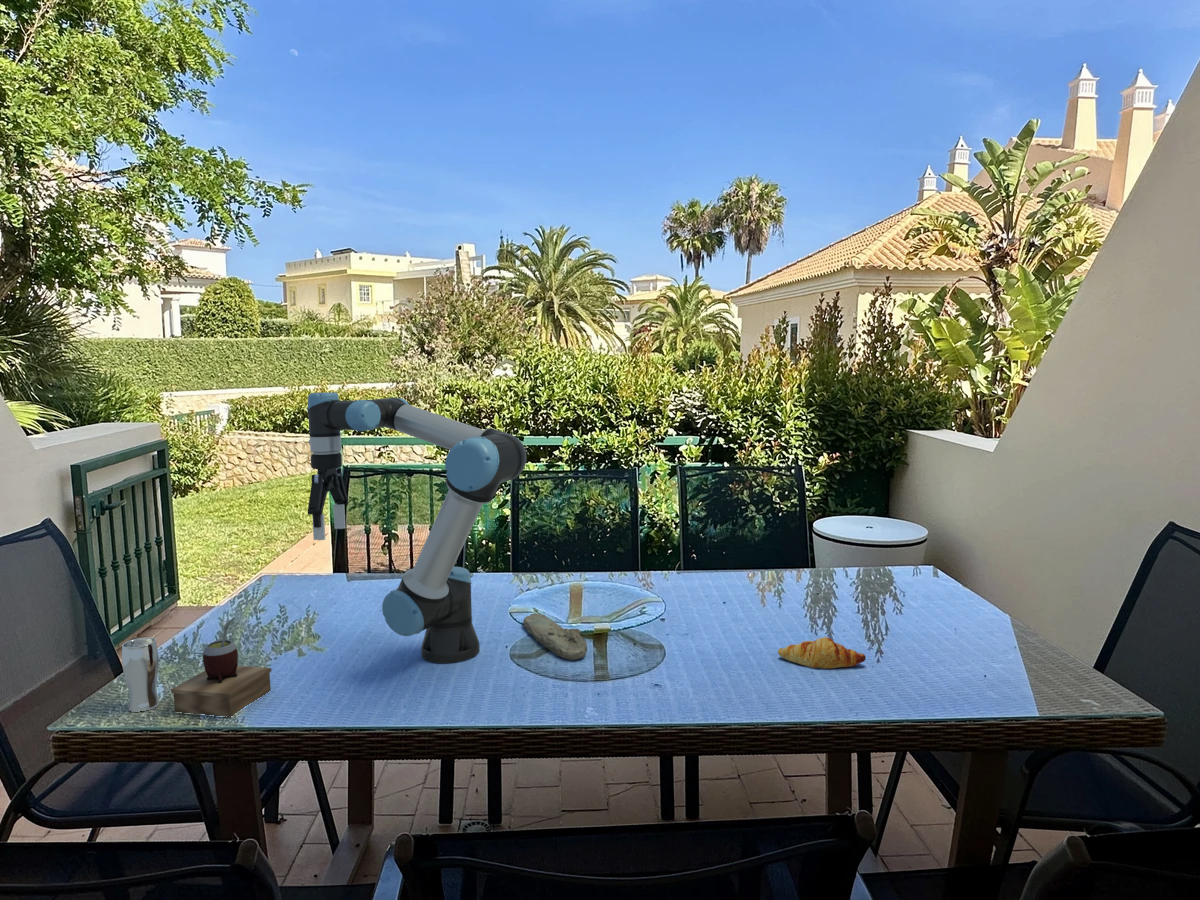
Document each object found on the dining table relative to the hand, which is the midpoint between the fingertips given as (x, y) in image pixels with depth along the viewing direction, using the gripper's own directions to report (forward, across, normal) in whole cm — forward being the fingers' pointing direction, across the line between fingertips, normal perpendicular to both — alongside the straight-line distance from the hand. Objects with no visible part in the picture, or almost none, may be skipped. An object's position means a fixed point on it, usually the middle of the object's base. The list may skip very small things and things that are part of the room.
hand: (330, 534), depth 198 cm
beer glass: (+33, +31, -32) cm, 55 cm away
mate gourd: (+27, +28, -15) cm, 42 cm away
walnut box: (+33, +28, -15) cm, 46 cm away
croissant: (+33, +4, +126) cm, 130 cm away
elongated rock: (+33, -12, +56) cm, 66 cm away
